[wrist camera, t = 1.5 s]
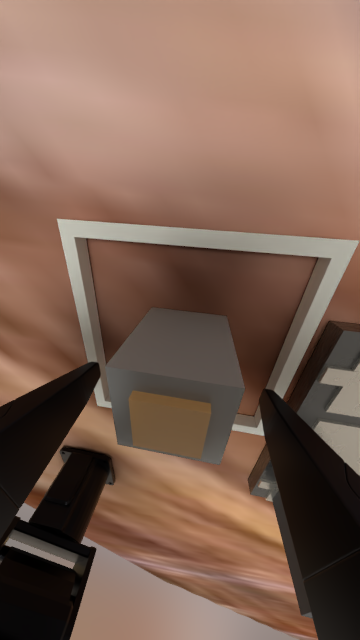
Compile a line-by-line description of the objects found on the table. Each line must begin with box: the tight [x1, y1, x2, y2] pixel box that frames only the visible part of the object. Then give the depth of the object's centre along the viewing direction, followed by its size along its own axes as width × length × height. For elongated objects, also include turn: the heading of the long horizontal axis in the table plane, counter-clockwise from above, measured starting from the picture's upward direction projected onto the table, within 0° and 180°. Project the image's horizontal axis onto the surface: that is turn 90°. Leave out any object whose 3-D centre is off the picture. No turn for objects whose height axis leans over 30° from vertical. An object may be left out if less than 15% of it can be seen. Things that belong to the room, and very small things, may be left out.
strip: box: [248, 321, 360, 502], centre depth 14 cm, size 20×9×1 cm, turn 176°
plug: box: [105, 307, 245, 465], centre depth 10 cm, size 5×5×6 cm
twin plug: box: [272, 490, 313, 618], centre depth 13 cm, size 5×5×6 cm
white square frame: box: [57, 219, 359, 436], centre depth 12 cm, size 15×15×1 cm
